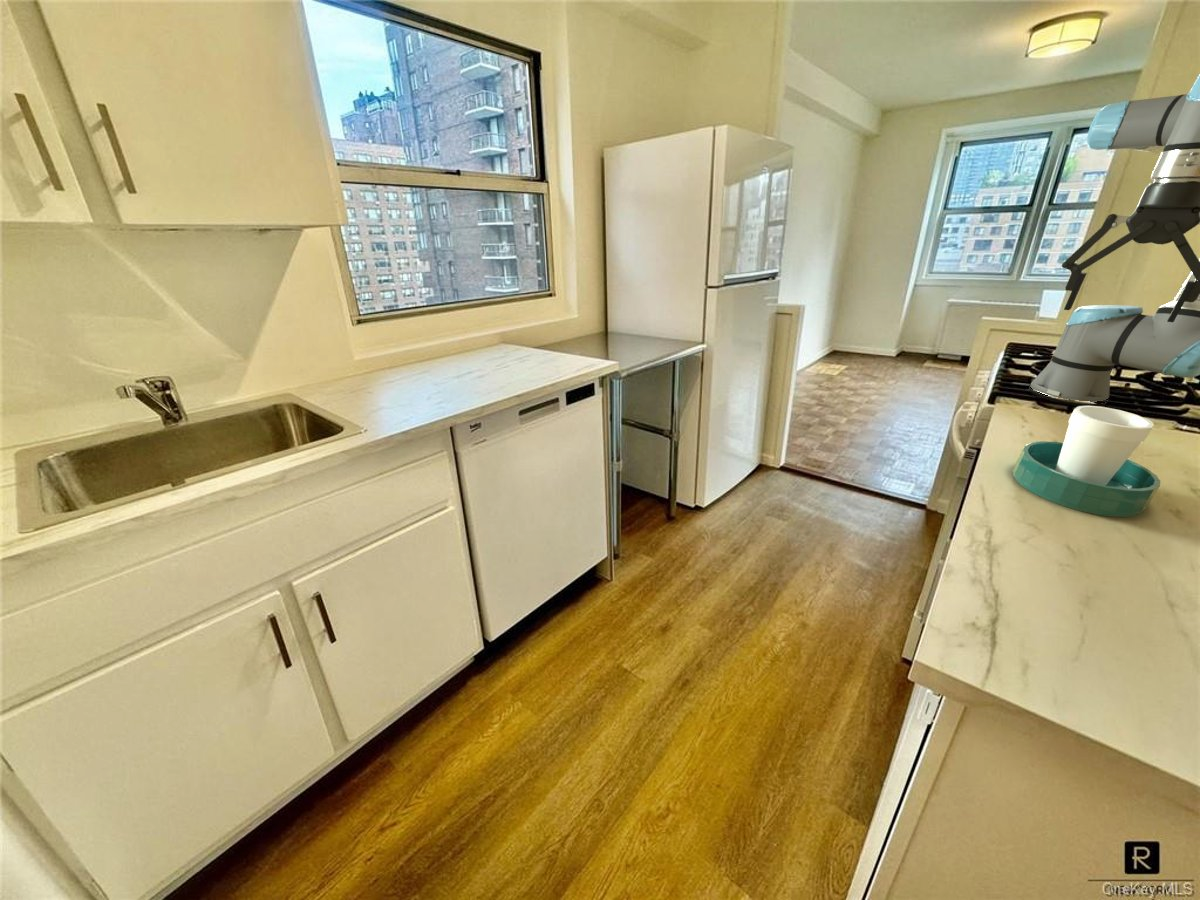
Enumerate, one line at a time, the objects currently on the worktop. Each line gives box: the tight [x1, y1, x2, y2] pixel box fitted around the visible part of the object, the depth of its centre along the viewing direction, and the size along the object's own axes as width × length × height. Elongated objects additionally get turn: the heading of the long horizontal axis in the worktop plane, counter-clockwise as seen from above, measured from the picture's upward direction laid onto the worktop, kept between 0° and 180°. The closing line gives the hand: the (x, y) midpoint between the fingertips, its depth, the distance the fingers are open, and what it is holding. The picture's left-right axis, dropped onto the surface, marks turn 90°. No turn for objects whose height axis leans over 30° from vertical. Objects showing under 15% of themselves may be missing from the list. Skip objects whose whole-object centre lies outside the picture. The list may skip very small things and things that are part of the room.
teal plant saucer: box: [1012, 440, 1162, 518], centre depth 84 cm, size 17×17×5 cm
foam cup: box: [1055, 406, 1155, 486], centre depth 81 cm, size 10×9×13 cm
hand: (1116, 315), depth 88 cm, fingers open, 13 cm apart
